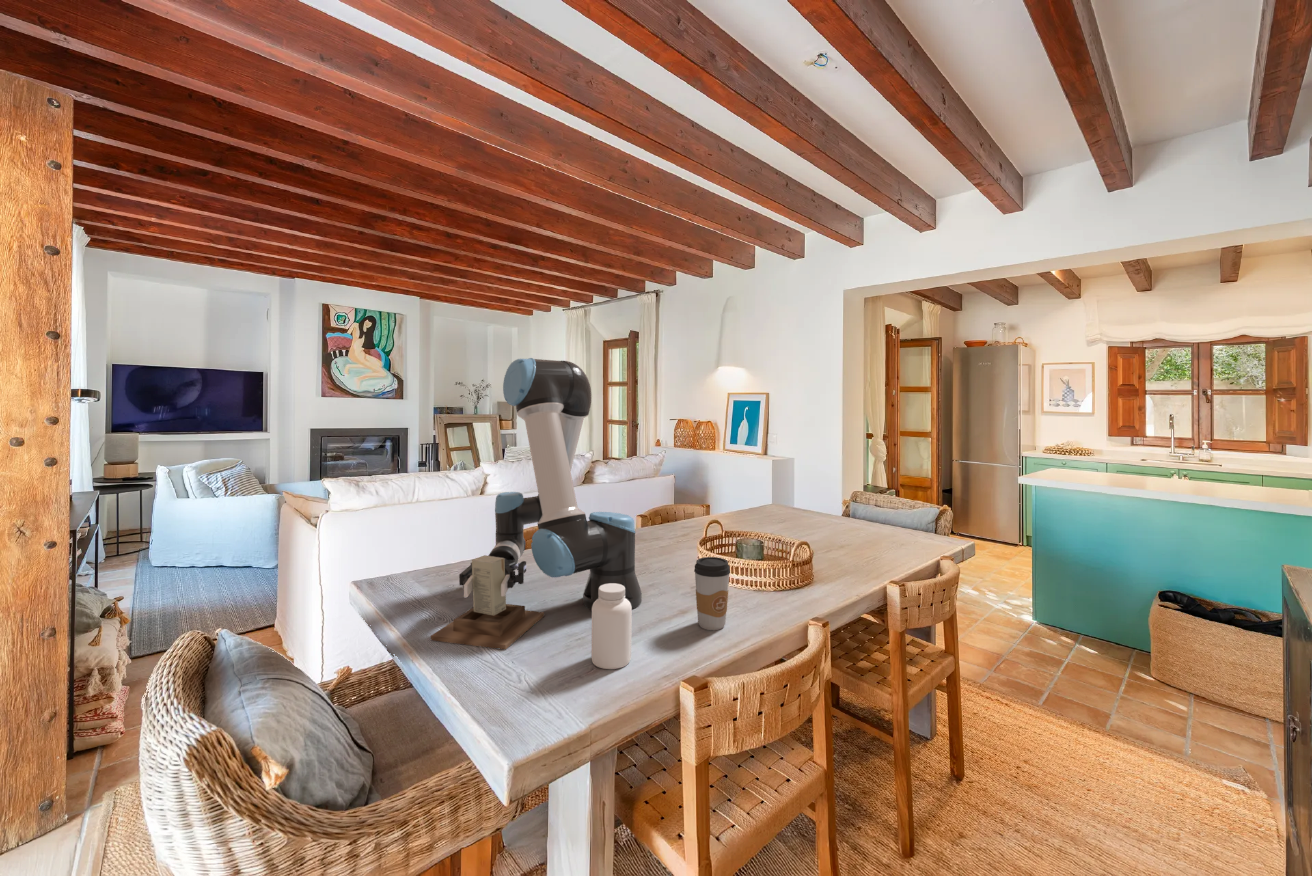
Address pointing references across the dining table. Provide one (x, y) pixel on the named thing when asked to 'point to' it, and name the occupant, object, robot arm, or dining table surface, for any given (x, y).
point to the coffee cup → (712, 591)
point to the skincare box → (488, 584)
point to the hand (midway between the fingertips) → (484, 590)
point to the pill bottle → (611, 627)
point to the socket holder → (489, 627)
